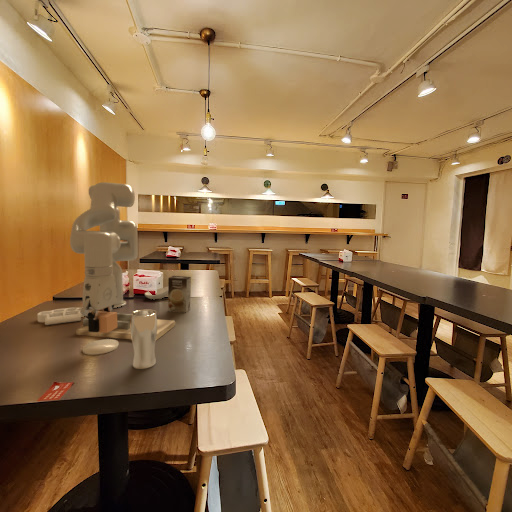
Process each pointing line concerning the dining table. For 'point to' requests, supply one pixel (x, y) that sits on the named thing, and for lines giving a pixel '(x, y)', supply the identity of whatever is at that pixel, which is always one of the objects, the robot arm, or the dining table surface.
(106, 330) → the block
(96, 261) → the robot arm
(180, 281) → the coffee box
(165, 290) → the spoon rest
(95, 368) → the dining table surface
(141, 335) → the beer glass
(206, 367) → the dining table surface
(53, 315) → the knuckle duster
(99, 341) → the coaster
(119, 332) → the board
